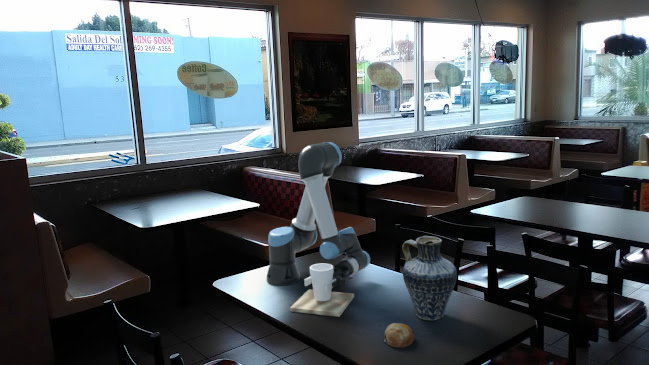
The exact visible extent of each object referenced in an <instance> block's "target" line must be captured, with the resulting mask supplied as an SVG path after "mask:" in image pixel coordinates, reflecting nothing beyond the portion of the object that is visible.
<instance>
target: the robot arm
mask: <svg viewBox="0 0 649 365" xmlns="http://www.w3.org/2000/svg"><path fill="white" fill-rule="evenodd" d="M342 157H343V156H342V151H341V150H340V147H339V146H338V144H335V143H334V142H330V141H323V142H319V143H314V144H309V145H308V144H307V145H306V146H305V147H303V148H302V150H301V151H300V153H299V155H298V162H297V163H298V172H299V177H300V180H301V181H302V182H303V183H304V185H305V187H304V190H303V195H302V198H301V201H300V203H299V204H300V205H299V206H298V212H297V215H296V217H294V218H292V220H291V224H290V226H281V227H276V228H274V229H272V230H270V231H269V233H268V240H267V241H268V242H267V243H268V253H269V254H268V255H269V266H268V270H267V273H266V282H267V283H268V284H270V285H274V286H288V285H293V284H295V283H297V282H299V281H300V280H301V274H300V270H299V268H298V266H297V264H296V253H300V252H302V251H304V250H306V249H309V248H311V247H312V246H313V245H315V243H316V242H317V238H318V231H319V235H320V238H321V242H322V243H321V244H320V247H319V253H320V255H321V257H322V258H324V259H325V260H331V259H332V260H333V259H336V258H338V257H339V256H340V255H343V254H344V255H345V256H346V258H343V259H342V260H340V261H338V262H336V264H334V265H333V270H334V273H333V279H332V280H331V281H330V282H328V283H326V284H325V287H326V291H328V290H330V289H331V288H332V289H333V288H335V287H337V286H340V285H341V286H343V287H345V286H346V285H347V283H348V282H349V281H350V280H351V279H353V278H354V277H353V276H354V275H355V274H356V273H358V272H361V271H362V270H364V269H366V268H367V267H368V266H369V265H370V263H371V257H370V254H369V253H368V252H367V251H365V250H363V249H362V247H361V244H360V242H359V240H358V237H357V233H356V232H355V230H354V228H353V227H352V226H349V227H346V228H343V229H341V230H339V231H338V228H337V225H336V221H335V219H334V218H335V217H334V215H333V211H332V208H331V204H330V200H329V197H328V195H327V194H328V193H327V191H326V185H327V182H328V179H329V178H331V177H332V176H333V174H334V171H335V168H337V167H338V166H340V164H341V163H342ZM315 221H316V222H315ZM317 228H318V231H317ZM303 281H304V284H303V285H304V287H308V286H310V285H311V284H312V279H311V275H310V274H309V276H308V277H306V278H304V279H303ZM332 289H331V290H332Z"/></svg>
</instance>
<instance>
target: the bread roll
mask: <svg viewBox="0 0 649 365" xmlns="http://www.w3.org/2000/svg"><path fill="white" fill-rule="evenodd" d="M383 338H384V340H383V341H384V343H386V344H387V345H388V346H391V347H393V348H400V349H401V348H406V347H408V346H411V345H412V344H413V342H414V341H415V334H414V330H413V329H411V327H410V326H409V325H407V324H404V323H397V322H396V323H394V322H393V323H390V324H389V325H387V327H386V329H385V331H384V337H383Z"/></svg>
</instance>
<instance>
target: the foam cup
mask: <svg viewBox="0 0 649 365" xmlns="http://www.w3.org/2000/svg"><path fill="white" fill-rule="evenodd" d="M333 268H334V265H332V264H331V263H321V262H320V263H319V262H318V263H315V264H312V265H310V266H309V276H310V275H311V279H312V283H311V284H312V285H311V286H312V290H313V291H314V297H315V300H317V301H327V300H330V298H331V292H332V289H333V288H331V289H330V290H328V291H326V287H325V284H326V283H328V282H330V281H331V280H333V279H334V277H333V273H334V270H333Z"/></svg>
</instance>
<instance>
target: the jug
mask: <svg viewBox="0 0 649 365" xmlns="http://www.w3.org/2000/svg"><path fill="white" fill-rule="evenodd" d="M442 242H443V240H442V239H441V238H439V237H438V236H434V235H433V236H429V235H423V236H419V237H417V238H416V239H415V240H413V239H409V240H406V241H404V242H403V244H402V248H401V250H402V252H403V254H404V258H405V262H404V266H403V268H402V277H403V281H404V285H405V287H406V289H407V291H408V294H409V297H410V299H411V302H412V306H413V308H414V312H415V313H414V314H415V315H416V317H418V318H419V319H421V320H425V321H436V320H440V319H441V318H443V317H444V316H445V313H446V309H447V304H448V302H449V300H450V298H451V295H452V292H453V291H454V288H455V286H456V283H457V279H458V271H457V267H456V265H454V264H453V262H451V261H450V260H448V259H446V258H444V257H443V256H442V255H441V248H442V247H441V246H442ZM410 246H413V247H414V248H416V249H417V250H418V252H417V256H415V257H413V258H412V256H411V252H410Z"/></svg>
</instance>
